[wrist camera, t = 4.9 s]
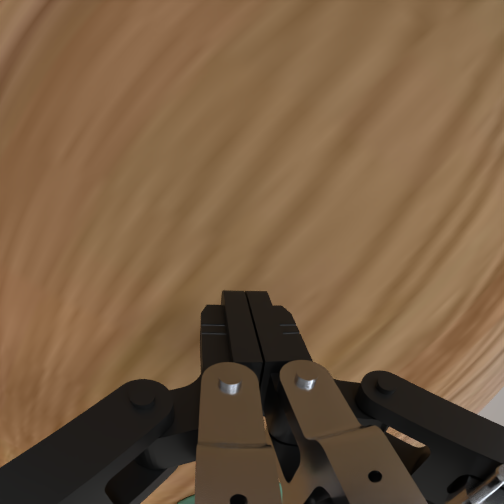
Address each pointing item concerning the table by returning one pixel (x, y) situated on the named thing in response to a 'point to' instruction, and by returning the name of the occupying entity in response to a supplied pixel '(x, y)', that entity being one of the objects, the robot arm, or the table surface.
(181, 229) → the table surface
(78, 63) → the table surface
